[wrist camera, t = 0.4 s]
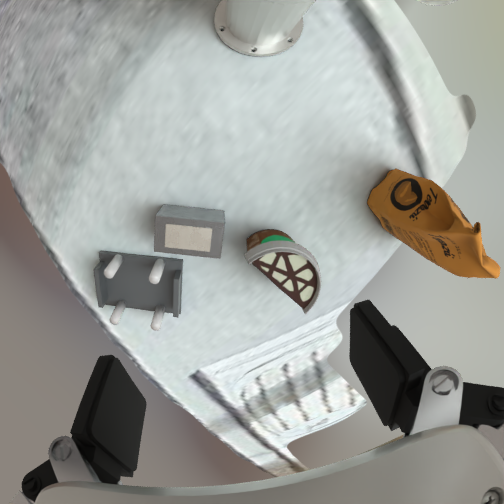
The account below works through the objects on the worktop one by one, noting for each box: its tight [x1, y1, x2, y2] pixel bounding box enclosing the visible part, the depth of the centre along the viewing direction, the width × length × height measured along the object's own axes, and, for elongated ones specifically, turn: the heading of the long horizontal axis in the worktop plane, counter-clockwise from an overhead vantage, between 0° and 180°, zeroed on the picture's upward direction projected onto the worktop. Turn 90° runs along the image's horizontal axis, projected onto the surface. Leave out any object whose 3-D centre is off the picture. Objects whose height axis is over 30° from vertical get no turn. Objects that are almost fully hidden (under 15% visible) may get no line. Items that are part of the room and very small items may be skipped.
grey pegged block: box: [94, 251, 183, 331], centre depth 42 cm, size 10×14×6 cm
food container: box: [244, 229, 321, 314], centre depth 40 cm, size 12×6×10 cm, turn 44°
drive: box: [154, 204, 225, 258], centre depth 39 cm, size 5×9×6 cm, turn 81°
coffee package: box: [367, 169, 500, 278], centre depth 34 cm, size 10×12×22 cm
